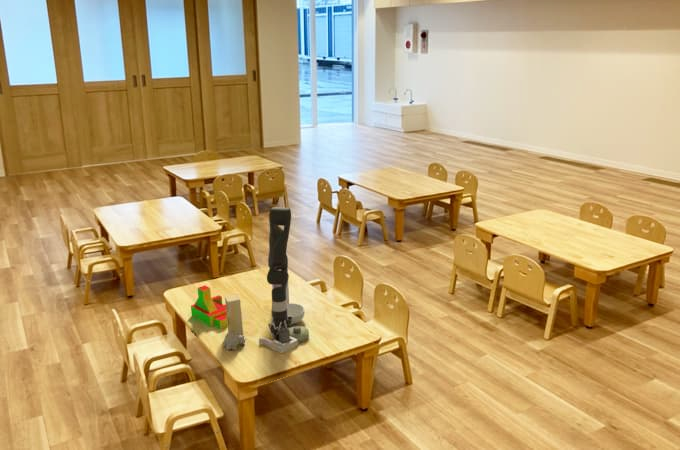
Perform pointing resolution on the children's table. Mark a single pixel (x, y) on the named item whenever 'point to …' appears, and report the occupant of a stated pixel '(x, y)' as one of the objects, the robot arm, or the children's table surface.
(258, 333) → the children's table surface
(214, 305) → the building blocks toy
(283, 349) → the grey bracket and lid
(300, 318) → the cereal bowl
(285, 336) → the orange-panel grey block
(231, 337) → the toy rhinoceros
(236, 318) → the toy refrigerator
